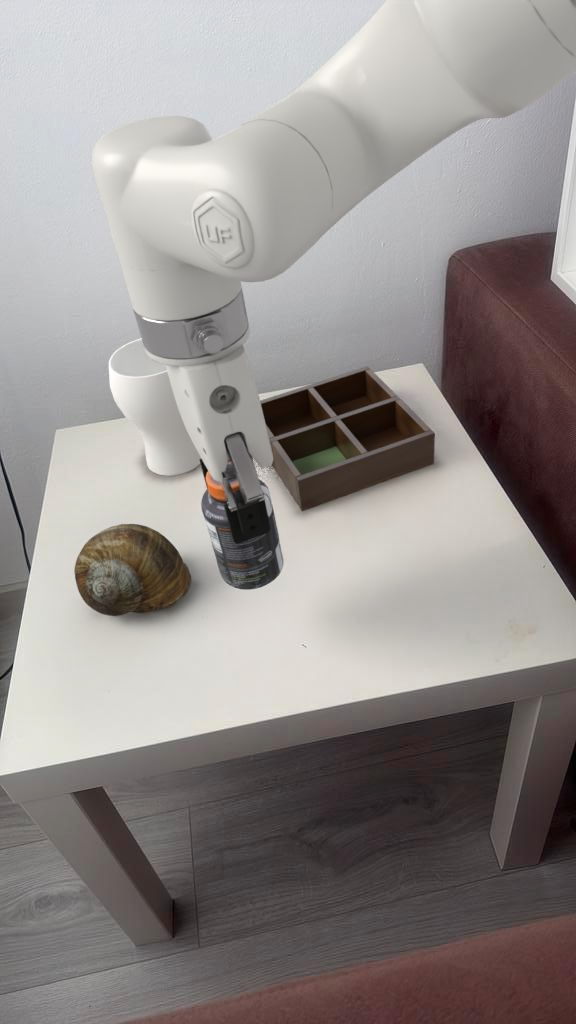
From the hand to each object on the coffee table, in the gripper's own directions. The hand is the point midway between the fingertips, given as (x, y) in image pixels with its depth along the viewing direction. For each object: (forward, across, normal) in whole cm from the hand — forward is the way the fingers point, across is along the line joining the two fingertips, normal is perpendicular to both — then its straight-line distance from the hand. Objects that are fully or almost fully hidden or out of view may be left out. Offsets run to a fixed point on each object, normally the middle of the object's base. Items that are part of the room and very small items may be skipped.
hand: (238, 510), depth 63 cm
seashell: (+15, +11, +10) cm, 21 cm away
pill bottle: (+7, 0, 0) cm, 7 cm away
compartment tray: (+15, +23, -18) cm, 33 cm away
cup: (+15, +32, 0) cm, 35 cm away
